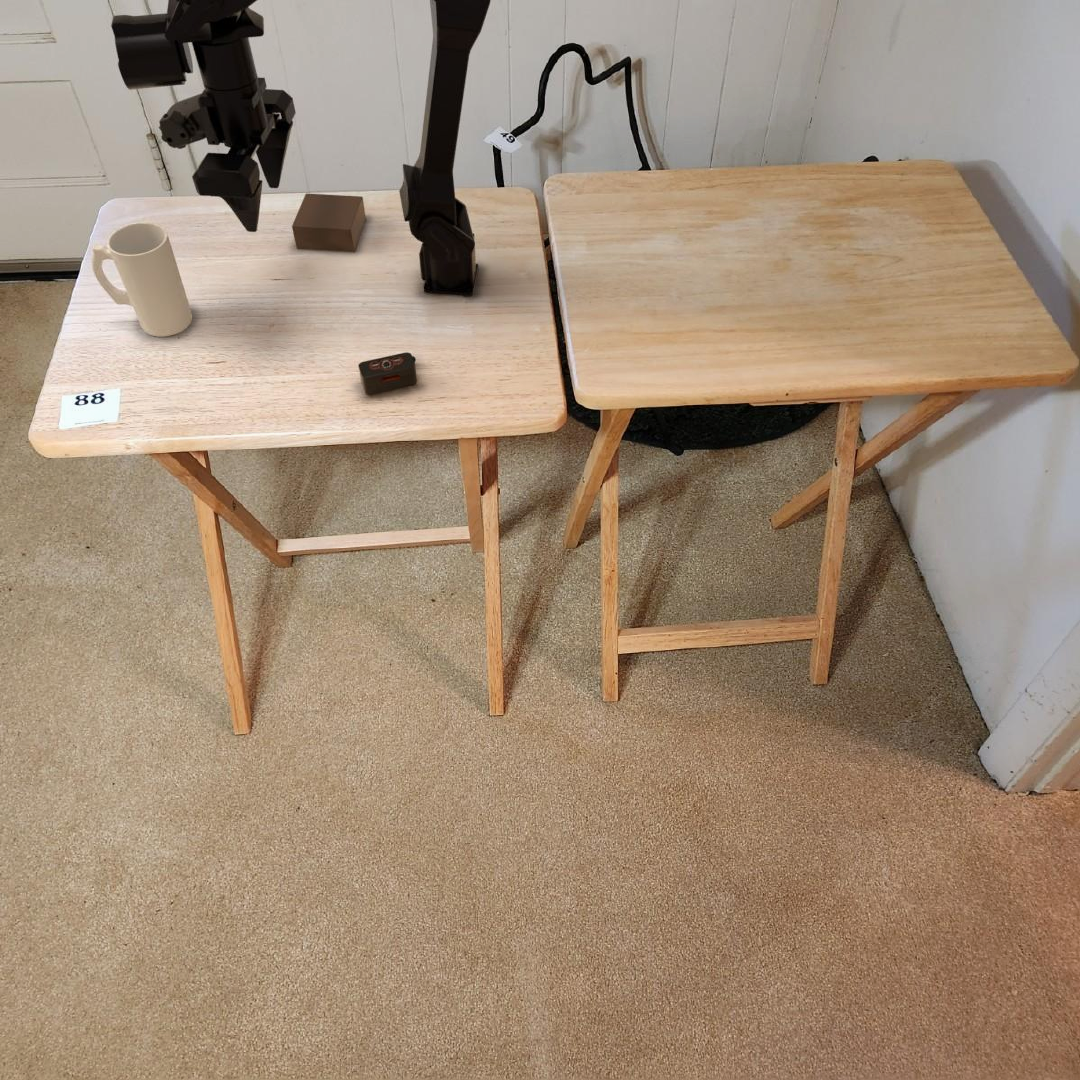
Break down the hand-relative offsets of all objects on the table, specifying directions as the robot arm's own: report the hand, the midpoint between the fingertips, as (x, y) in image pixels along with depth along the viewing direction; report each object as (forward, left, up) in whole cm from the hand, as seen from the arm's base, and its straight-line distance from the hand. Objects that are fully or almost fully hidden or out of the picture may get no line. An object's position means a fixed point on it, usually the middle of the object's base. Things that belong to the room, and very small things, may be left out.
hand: (263, 208), depth 116 cm
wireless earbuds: (-17, +14, -13) cm, 26 cm away
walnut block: (-3, -15, -13) cm, 20 cm away
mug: (+15, +6, -13) cm, 21 cm away
